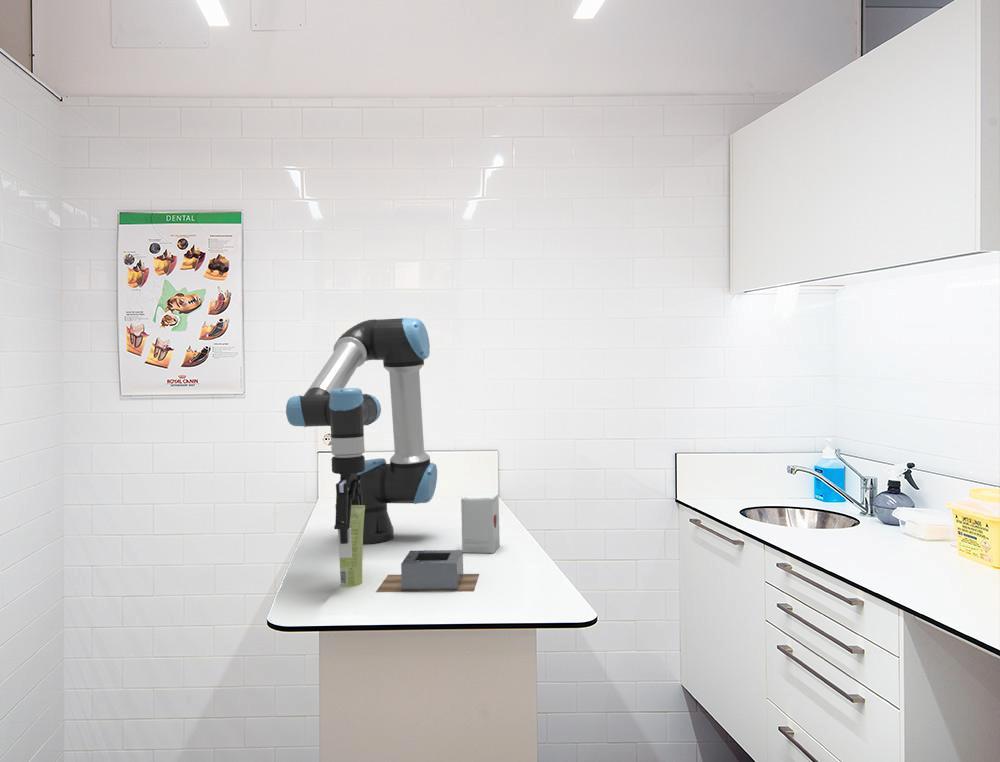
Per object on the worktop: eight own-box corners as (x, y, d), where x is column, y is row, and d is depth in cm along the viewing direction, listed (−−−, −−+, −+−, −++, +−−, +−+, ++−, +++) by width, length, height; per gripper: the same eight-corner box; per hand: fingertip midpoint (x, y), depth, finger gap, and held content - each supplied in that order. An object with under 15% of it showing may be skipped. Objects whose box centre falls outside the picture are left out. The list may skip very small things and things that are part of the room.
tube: (361, 583, 187) (359, 501, 187) (367, 589, 183) (365, 504, 182) (337, 587, 185) (335, 504, 184) (343, 592, 180) (340, 507, 180)
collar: (411, 575, 189) (410, 550, 189) (463, 575, 188) (462, 550, 188) (401, 590, 177) (401, 563, 177) (457, 589, 176) (456, 563, 176)
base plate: (388, 579, 190) (388, 574, 190) (479, 578, 189) (479, 573, 189) (375, 597, 176) (375, 592, 176) (474, 596, 175) (473, 591, 175)
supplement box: (494, 553, 213) (492, 498, 212) (461, 553, 214) (460, 498, 214) (500, 545, 221) (499, 492, 221) (469, 545, 223) (468, 492, 223)
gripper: (344, 449, 194) (347, 540, 195) (318, 461, 172) (321, 564, 173) (374, 449, 193) (377, 540, 194) (352, 461, 171) (355, 564, 172)
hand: (351, 551), depth 183 cm, fingers open, 9 cm apart
